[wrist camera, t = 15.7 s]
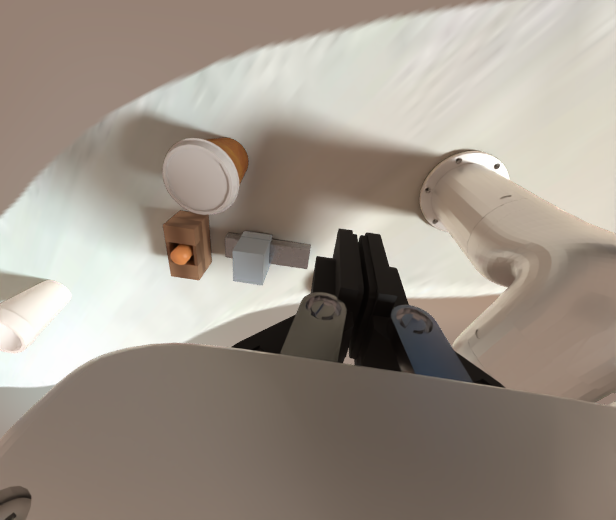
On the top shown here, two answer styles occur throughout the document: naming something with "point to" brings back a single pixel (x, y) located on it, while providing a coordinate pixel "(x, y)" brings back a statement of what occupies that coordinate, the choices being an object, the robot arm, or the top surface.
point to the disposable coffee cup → (205, 173)
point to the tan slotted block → (189, 243)
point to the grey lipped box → (251, 258)
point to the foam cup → (30, 314)
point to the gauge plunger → (182, 254)
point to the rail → (277, 251)
